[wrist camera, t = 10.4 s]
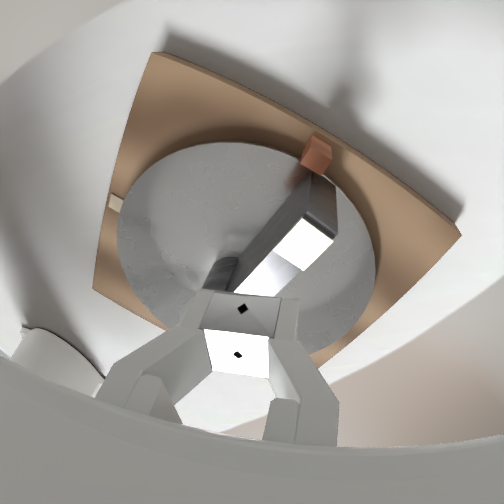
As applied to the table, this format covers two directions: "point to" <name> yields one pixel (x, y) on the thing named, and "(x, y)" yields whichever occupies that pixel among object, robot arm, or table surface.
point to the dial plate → (281, 136)
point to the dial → (246, 236)
